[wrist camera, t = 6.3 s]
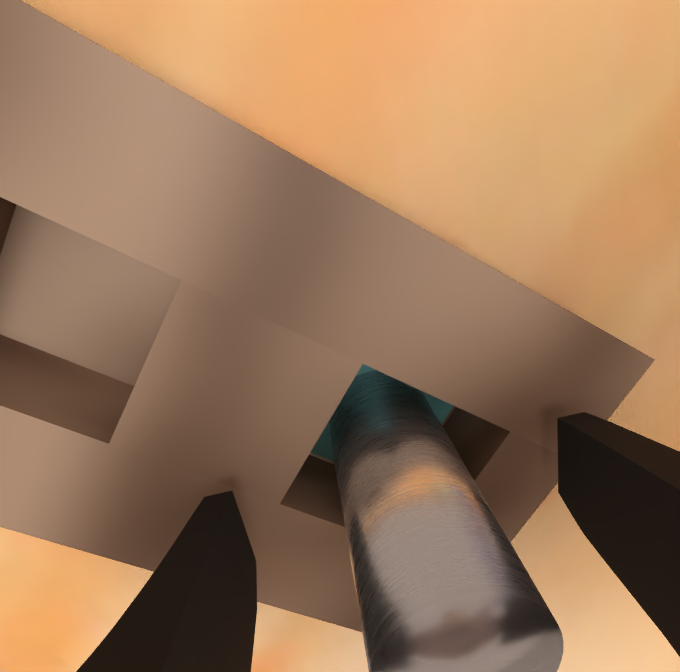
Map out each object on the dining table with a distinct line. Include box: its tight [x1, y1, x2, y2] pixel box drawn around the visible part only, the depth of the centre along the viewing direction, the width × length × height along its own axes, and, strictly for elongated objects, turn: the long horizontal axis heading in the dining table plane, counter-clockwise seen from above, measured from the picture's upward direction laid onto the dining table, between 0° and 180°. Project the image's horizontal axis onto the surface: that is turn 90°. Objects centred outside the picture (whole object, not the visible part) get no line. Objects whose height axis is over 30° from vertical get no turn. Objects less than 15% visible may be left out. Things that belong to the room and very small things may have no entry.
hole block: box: [0, 0, 654, 632], centre depth 12 cm, size 16×10×3 cm, turn 62°
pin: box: [328, 370, 563, 672], centre depth 10 cm, size 3×3×7 cm
